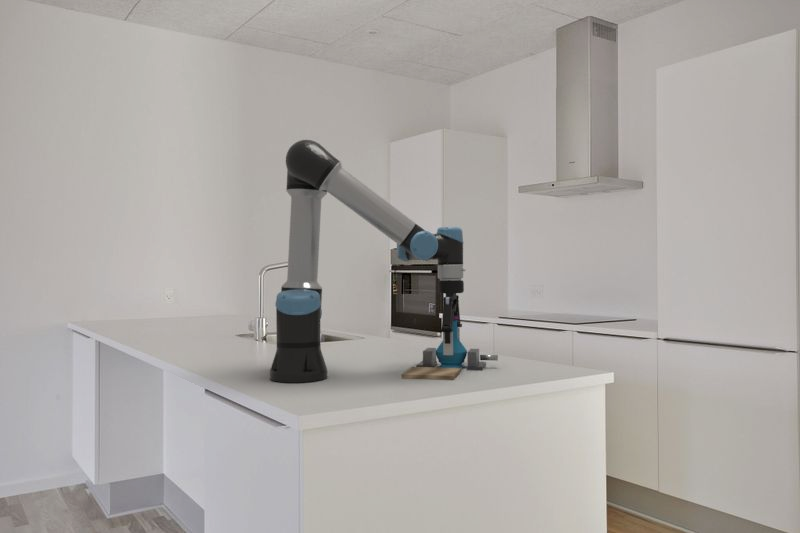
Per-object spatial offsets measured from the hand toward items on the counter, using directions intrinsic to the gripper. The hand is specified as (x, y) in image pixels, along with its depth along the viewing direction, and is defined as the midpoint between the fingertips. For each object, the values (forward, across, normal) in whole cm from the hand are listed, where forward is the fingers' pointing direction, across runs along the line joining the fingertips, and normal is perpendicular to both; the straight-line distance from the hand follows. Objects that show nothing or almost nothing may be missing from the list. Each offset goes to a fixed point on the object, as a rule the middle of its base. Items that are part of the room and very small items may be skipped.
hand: (451, 352), depth 197 cm
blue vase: (+5, 0, 0) cm, 5 cm away
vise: (+4, 0, -2) cm, 5 cm away
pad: (+4, -15, +3) cm, 16 cm away
